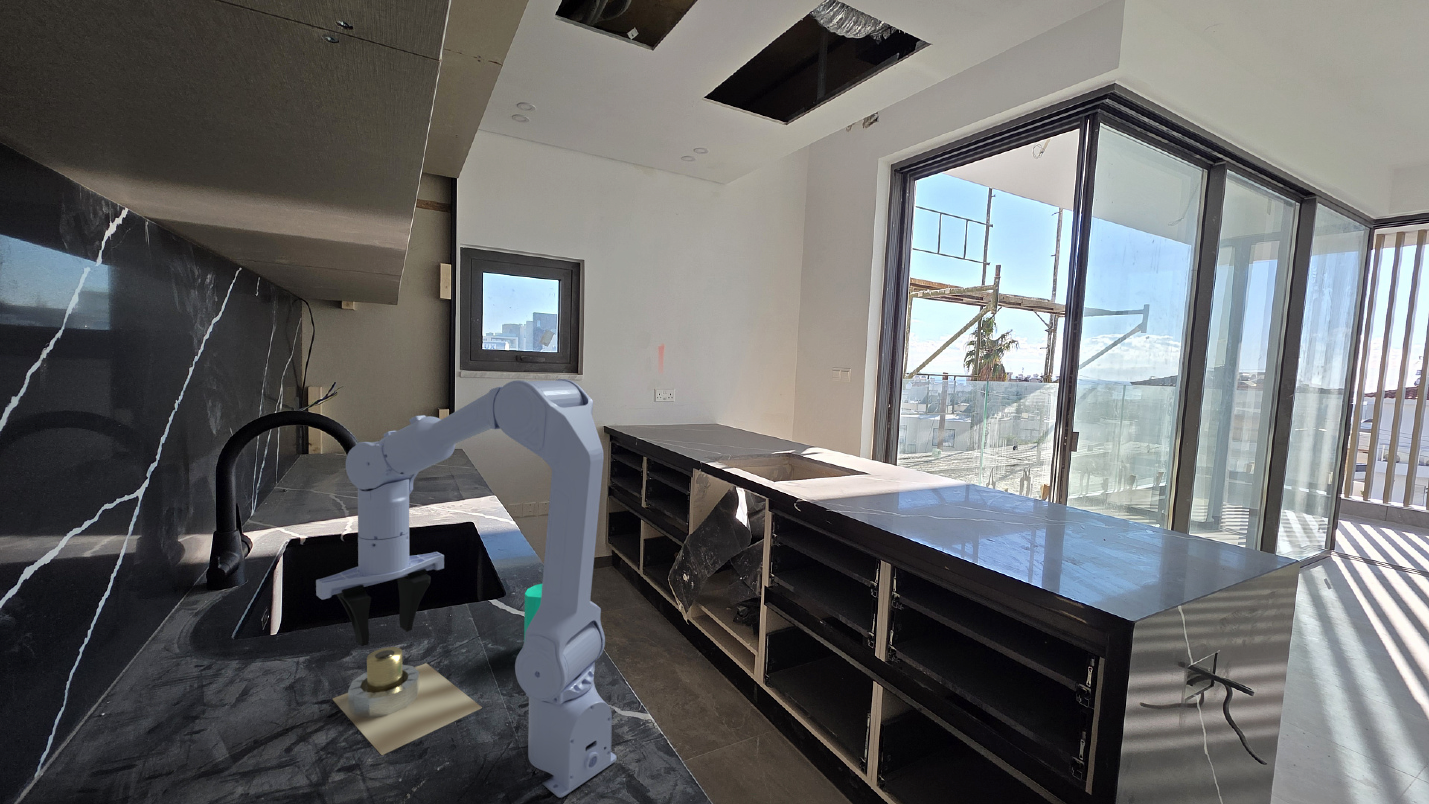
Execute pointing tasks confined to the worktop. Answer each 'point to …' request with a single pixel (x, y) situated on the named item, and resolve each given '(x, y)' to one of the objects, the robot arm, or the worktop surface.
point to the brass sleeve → (384, 669)
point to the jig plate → (414, 713)
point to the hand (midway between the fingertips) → (384, 635)
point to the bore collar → (383, 695)
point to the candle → (531, 604)
